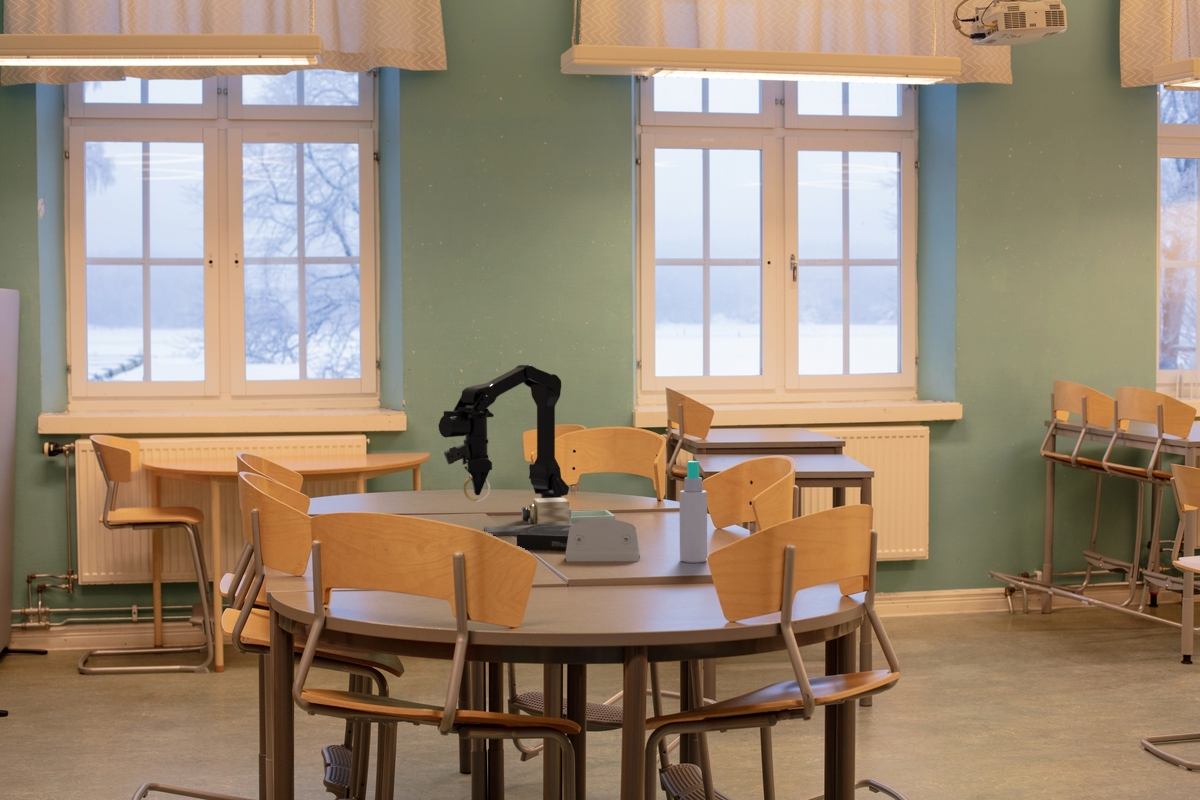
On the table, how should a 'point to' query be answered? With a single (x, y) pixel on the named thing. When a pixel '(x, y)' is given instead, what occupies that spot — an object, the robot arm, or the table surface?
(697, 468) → the spray bottle
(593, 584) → the table surface
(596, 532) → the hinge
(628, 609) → the table surface
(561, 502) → the block
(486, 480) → the ring
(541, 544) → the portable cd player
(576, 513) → the tray
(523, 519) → the shaft
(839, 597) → the table surface
